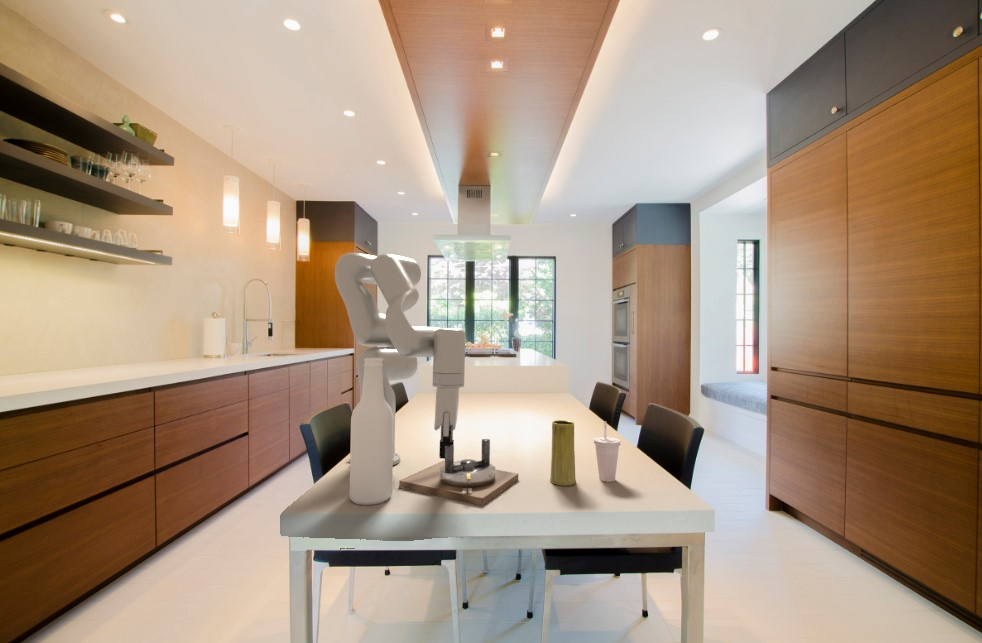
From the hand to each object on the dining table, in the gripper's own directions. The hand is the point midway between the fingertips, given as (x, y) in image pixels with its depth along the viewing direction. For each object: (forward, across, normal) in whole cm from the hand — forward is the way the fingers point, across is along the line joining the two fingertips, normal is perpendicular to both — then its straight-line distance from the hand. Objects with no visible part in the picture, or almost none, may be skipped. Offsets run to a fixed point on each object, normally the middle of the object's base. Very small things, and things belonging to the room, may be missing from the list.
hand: (446, 457), depth 99 cm
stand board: (+6, 0, +4) cm, 7 cm away
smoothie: (+6, -2, +40) cm, 40 cm away
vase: (+6, 0, +28) cm, 29 cm away
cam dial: (+4, +2, +6) cm, 7 cm away
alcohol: (+6, +8, -16) cm, 19 cm away
